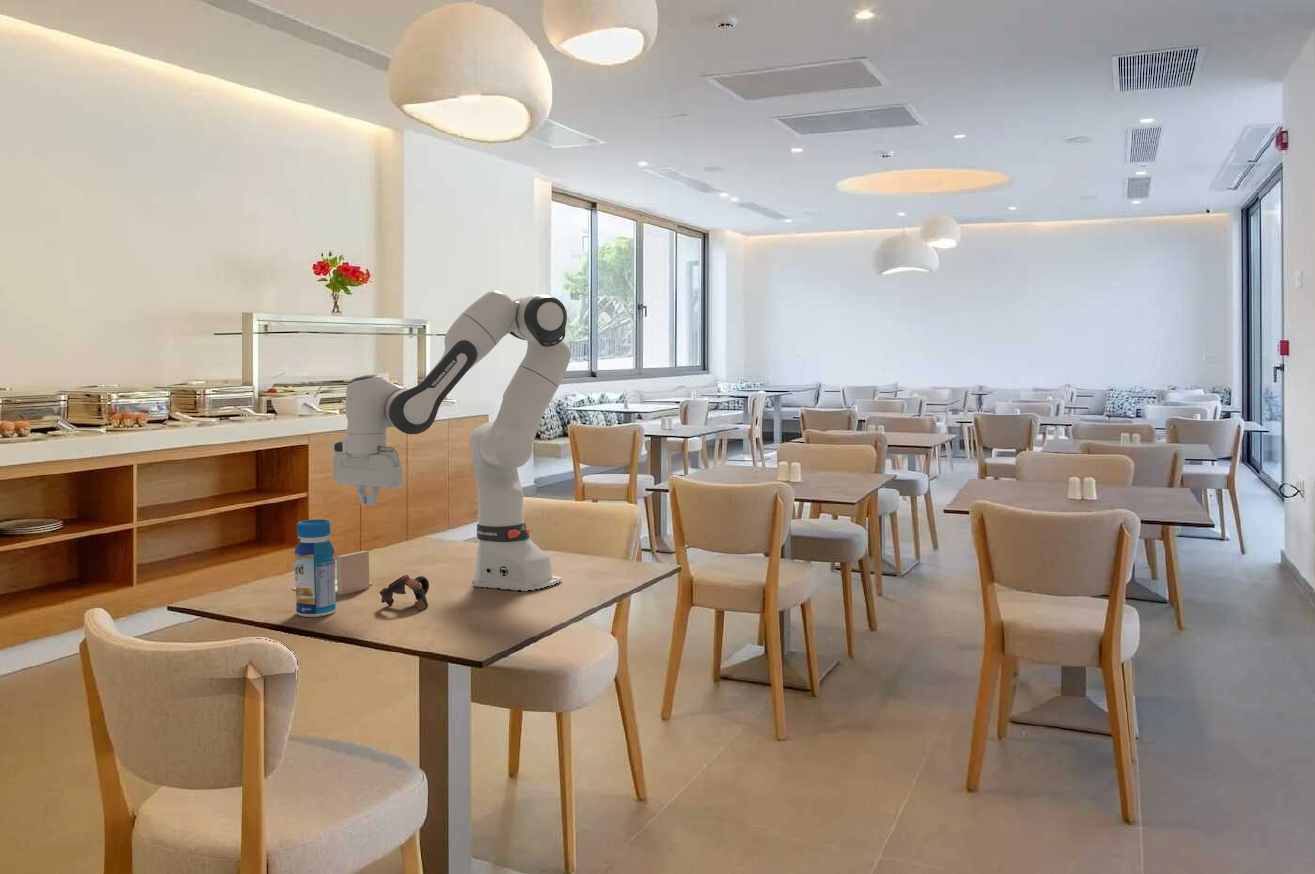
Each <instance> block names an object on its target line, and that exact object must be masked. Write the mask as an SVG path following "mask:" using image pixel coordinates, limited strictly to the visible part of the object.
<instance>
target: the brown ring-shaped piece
mask: <svg viewBox="0 0 1315 874" xmlns="http://www.w3.org/2000/svg"><path fill="white" fill-rule="evenodd" d="M405 586H407V587H408V588H409V589H411V590H412V592H413V594H414V596H415V602H414V604H415V605H414V606H416V609H417V611H418V612H421V611H423V610H424V609H425V608H426V607H427V606H429V603H428V600H427V596H426V595H427V593H428V591H429V589H430V582H429V580H428V579H427V577H425V576H423V575H420V576H417V577H416V578H414V579H413V578H410V576H409V574H404V575H402V576H400V577H399V578H397V579H395V580H394V581H392V582H391V583H389V584H388V586H387V587H384V588H382V589H381V590H380V591H379V594H380V596H381V602H380V603H381V604H383V603H386V604H387V605H388V606H390V607H391V606H392V605H393V604H394V602H395V600H394V598H393V595H394V594H395V595H398V594H399V595H405V594H406V589H405V588H406V587H405Z"/></svg>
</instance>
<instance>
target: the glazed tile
mask: <svg viewBox="0 0 1315 874" xmlns="http://www.w3.org/2000/svg"><path fill="white" fill-rule="evenodd" d="M369 559H370V557H369V551H368V550H361V551H356V552H350V553H345V554H341V555H336V578H337V589H338V593H337V595H340V596H343V595H347V594H348V595H349V594H351V593H352V594H353V593H357V592H361V591H364V590H368V589H370V585H369V582H370V563H369Z"/></svg>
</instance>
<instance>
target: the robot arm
mask: <svg viewBox="0 0 1315 874" xmlns="http://www.w3.org/2000/svg"><path fill="white" fill-rule="evenodd" d="M567 321H568V313H567V309H566V307H565V305H564V304H563V302H562V301H561V300H559V298H557V297H554V296H552V295H549V294H533V295H529V296H525V297H523V298H517V299H514V300H513V299H512V298H511V297H509V295H508V294H506V293H504V292H502V291H500V290H490V291H488V292H486V293H484V294H483V295H481V296H480V297H479V298H477V299H476V300H475V301H474V302H473V303H471V304H470V305H469V306H468V307H467V308H466V309H465V310H464V311H463V312H462V313H460V315H459V316H458V317H457V318H456V319H455V321H454V322H453V323H452V325H450V327H449V329H448V330H447V332H446V333H445V335H444V340H443V341H444V352H443V355H442V357H441V358H440V360H439V361H438V362H437V363H436V364H435V365H434V367H433V368H432V369H431V370H430V372H428V374H427V375H425V377H424V378H423V379H422V380H421V382H419V383H418V384H417V385H416V386H413V387H412V388H409V389H408V388H406V387H403V386H399V385H397V384H395V383H393V382H391V381H389V380H387V379H385V378H384V377H383V376H381V375H380V374H370V375H369V374H368V375H367V374H366V375H363V376H358V377H355V378H352V379H351V380H349V382H348V384H347V386H346V389H345V417H346V418H347V419H346V421H347V426H346V434H345V438H343V439H340V440H338V441H336V442H335V441H334V443H332V445H331V448H332V449H331V450H332V452H333V453H334V454H333V457H332V475H333V476H332V477H333V480H334V481H335V483H336V484H345V485H346V484H347V485H355V491H356V494H357V496H358V498H359V504H360V505H364V506H365V505H367V506H376V505H377V500H378V499H377V497H378V496H379V494H380V491H381V488H383V489H384V488H386V489H393V488H399V487H401V486H402V484H403V471H402V465H401V464H402V463H401V460H400V458H399V452H398V450H396V449H395V447H392V446H387V429H388V428H394V429H397V430H398V431H400V432H402V433H404V434H407V435H418V434H422V433H424V432H426V431H427V430H428V429H429V428H431V426H432V425H433V424H434V423H435V419H436V417H437V416H438V415H437V414H438V412H439V409H440V405H441V404H442V402H443V401H444V400H445V399H446V397H447V396H448V395H449V394H450V392H451V391H452V390H453V389H454V388H455V387H456V385H457V384H458V383H459V382H460V381H461V380H462V378H463V377H464V375H466V373H467V372H468V371H470V370H471V369H472V368H473V367H475V366H476V365H477V364H478V363H479V362H480V361H481V360H483V359H484V358H485V357H486V356H487V355H488V354H490V352H491V351H492V350H493V349H494V348H495V347H496V346H497V345H498V344H499V343H500V341H501V340H502V339H503V338H504V337H505V336H507V335H508V334H510V335H511V336H513V337H514V338H516V339H520V340H523V341H527V348H526V352H525V356H524V357H523V359H522V360H521V362H520V364H519V365H518V367H517V369H516V371H515V373H514V374H513V376H512V378H511V380H510V381H509V383H508V385H507V387H506V388H505V390H504V392H503V394H502V401H501V404H500V407H499V411H498V413H497V415H496V418H495V420H494V421H488V422H484V423H483V424H481V425H479V426H477V427H476V428H475V429H474V430H473V431H472V433H471V434H470V438H469V448H470V452H471V456H472V465H473V471H474V477H475V482H476V483H475V484H476V489H477V504H478V505H477V506H478V509H477V510H478V511H477V512H478V513H477V514H478V515H477V516H478V523H477V524H476V538H477V540H478V545H477V554H476V564H475V570H474V574H473V578H472V581H473V585H474V586H473V587H477V588H487V587H488V589H497V588H500V589H499V590H507V589H508V590H509V589H510V590H509V591H518V590H521V592H529V591H528V590H532V591H536V590H535V589H538V590H540V589H539V588H543V589H545V588H544V587H547V586H550V585H552V584H555V583H558V584H560V583H561V582H562V581H561V580H562V577H561V576H558V575H555V574H553V570H552V563H551V560H550V556H548V555H547V554H546V553H545V552H544V551H543V550H542V549H541V548H540V547H539V546H538V545H537V544H535V543H534V541H532V539H531V538H530V537H531V536H530V533H532V532H533V530H531V529H533V526H532V527H531V526H530V527H527V524H526V522H525V521H524V519H525V518H524V491H523V487H522V485H521V481H520V477H519V472H518V468H521V467H523V466H524V465H526V464H527V463H528V462H529V460H530V459H531V457H532V454H533V445H534V441H535V438H536V436H537V433H538V430H539V427H540V424H541V422H542V418H543V416H544V414H545V412H546V410H547V408H548V407H549V405H550V403H551V401H552V400H553V397H554V396H555V394H556V392H557V390H558V388H559V387H560V385H561V383H562V380H563V379H564V377H565V374H566V372H567V369H568V367H569V364H570V362H571V361H570V360H571V357H572V355H571V350H570V347H569V346H568V345H567V344H566V342H564V341H563V340H564V339H565V337H566V328H567V323H568V322H567ZM367 488H368V491H369V492H370V493H369V495H368V493H367V491H366V489H367ZM559 582H560V583H559ZM550 587H551V586H550ZM547 588H548V587H547Z"/></svg>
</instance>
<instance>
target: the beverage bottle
mask: <svg viewBox="0 0 1315 874" xmlns="http://www.w3.org/2000/svg"><path fill="white" fill-rule="evenodd" d="M296 533H297V534H296V535H297V538H298V539H300V540H299V542H298V543H297V545H296V547H295V549H294V554H293V556H294V558H295V562H294V563H293V569H294V576H295V578H294V579H295V581H294V582H295V587H296V590H295V603H296V607H295V612H296V614H297V615H298V616H300V617H305V618H319V617H324V616H325V617H326V616H329V615H332V614H333V613H335V612H336V610H337V603H336V601H337V600H336V594H335V578H336V577H335V576H336V575H335V574H336V570H335V569H336V567H337V564H336V560H335V558H334V554H335V548H334V546H333V544H332V543H331V541H330V540H329V538H328V537H330V536H331V522H330V521H329V520H328V519H307V520H301V521H298V522H297V523H296Z"/></svg>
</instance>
